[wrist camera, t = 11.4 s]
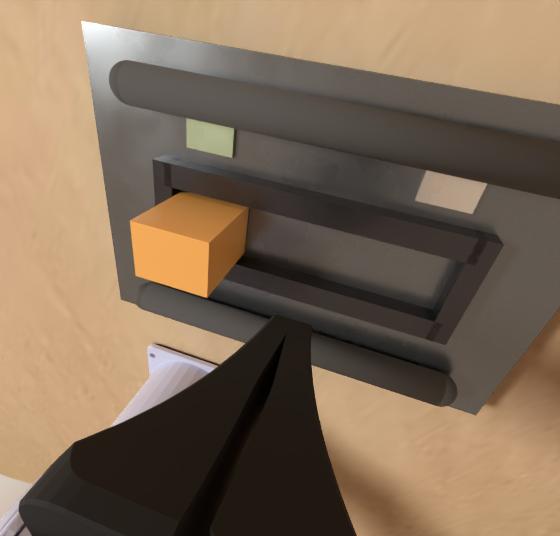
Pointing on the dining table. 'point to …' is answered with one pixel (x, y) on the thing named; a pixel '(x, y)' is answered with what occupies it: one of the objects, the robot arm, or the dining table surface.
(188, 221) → the orange rectangular box
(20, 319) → the dining table surface
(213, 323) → the grey rails and frame
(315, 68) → the plate
